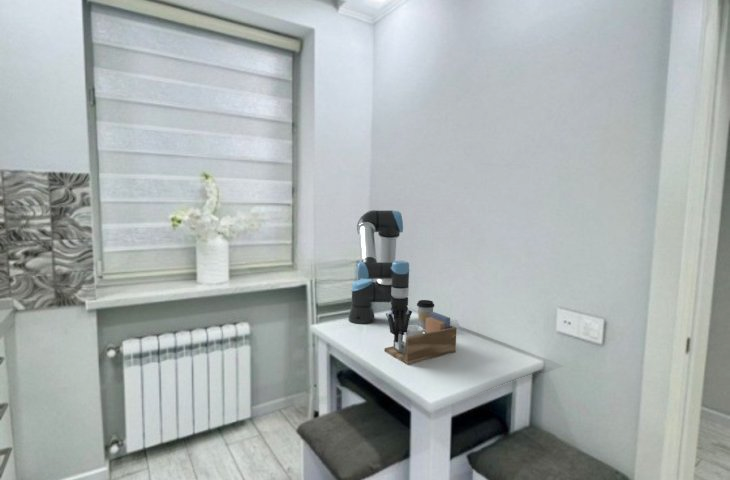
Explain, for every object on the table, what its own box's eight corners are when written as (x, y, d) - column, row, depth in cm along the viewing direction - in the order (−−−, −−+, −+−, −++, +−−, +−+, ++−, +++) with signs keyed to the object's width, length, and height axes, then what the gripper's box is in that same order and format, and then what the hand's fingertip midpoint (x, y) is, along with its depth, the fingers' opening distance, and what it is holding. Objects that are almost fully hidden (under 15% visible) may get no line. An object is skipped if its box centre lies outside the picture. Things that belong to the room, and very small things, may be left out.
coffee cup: (433, 326, 215) (433, 299, 214) (434, 332, 206) (435, 304, 204) (415, 325, 216) (416, 299, 215) (416, 331, 207) (417, 303, 205)
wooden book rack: (384, 351, 178) (384, 326, 177) (430, 340, 193) (431, 318, 192) (407, 364, 164) (408, 338, 163) (455, 352, 179) (456, 327, 178)
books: (424, 342, 187) (425, 313, 185) (433, 340, 190) (434, 312, 188) (440, 349, 177) (441, 319, 176) (449, 347, 180) (450, 317, 179)
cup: (400, 348, 178) (400, 326, 177) (421, 344, 184) (422, 323, 183) (410, 354, 171) (411, 332, 170) (432, 350, 177) (433, 328, 176)
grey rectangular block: (393, 348, 177) (393, 340, 177) (398, 347, 179) (398, 339, 178) (405, 355, 169) (405, 346, 169) (411, 354, 171) (411, 345, 171)
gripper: (392, 300, 164) (391, 354, 166) (416, 296, 171) (414, 348, 173) (382, 296, 170) (381, 348, 172) (406, 293, 177) (404, 343, 179)
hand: (398, 348), depth 173 cm, fingers closed
